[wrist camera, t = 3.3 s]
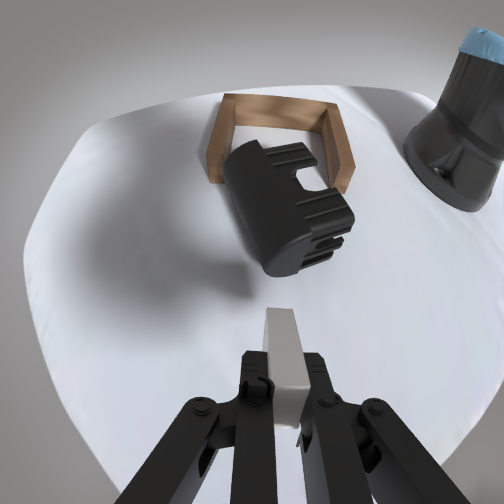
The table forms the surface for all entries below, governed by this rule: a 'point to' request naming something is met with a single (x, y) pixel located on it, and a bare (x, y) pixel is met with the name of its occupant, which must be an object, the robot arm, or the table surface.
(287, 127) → the corral
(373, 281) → the table surface
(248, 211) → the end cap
